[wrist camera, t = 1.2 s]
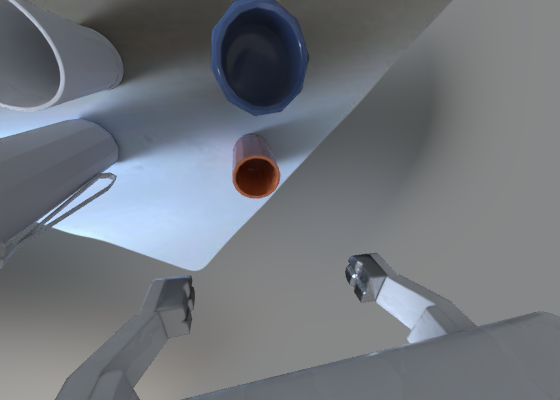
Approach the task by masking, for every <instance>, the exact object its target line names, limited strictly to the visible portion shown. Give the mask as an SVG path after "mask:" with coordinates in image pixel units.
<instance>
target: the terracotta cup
mask: <svg viewBox="0 0 560 400" xmlns="http://www.w3.org/2000/svg"><path fill="white" fill-rule="evenodd" d="M279 181H280V172H279V168H278V166H277V163H276V161H275V159H274V157H273V155H272V152H271V150H270V148H269V146H268V144H267V143H266V141H265V140H264V139H263V138H261V137H260V136H257V135H253V134H249V135H245V136H243V137H241V138H240V139H238V140H237V142H236V143H235V145H234V148H233V184H234V186H235V188H236V190H237V191H238V192H240V193H241V194H242V195H243V196H246V197H249V198H262V197H265V196H268V195H270V194H271V193H272V192H273V191H275V189H276V188H277V186H278V184H279Z"/></svg>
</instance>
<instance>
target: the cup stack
mask: <svg viewBox="0 0 560 400" xmlns="http://www.w3.org/2000/svg"><path fill="white" fill-rule="evenodd" d="M216 61H217V69H218V71H219V74H220V77H221V79H222V82H223V85H224V87H225V88H226V89H227V90H228V92H229V93H230V94H231V95H232V96H233V98H234V99H235V100H236V101H237V102H239V103H240V104H242V105H244V106H246V107H247V108H249V109H251V110H258V111H271V110H274V109H277V108H280V107H282V106H284V105H285V104H286V103H287V102H288V101H289V100H290V99H292V98H293V97H294V96H295V94H296V92H297V91H298V89H299V87H300V85H301V83H302V81H303V79H304V72H305V66H306V53H305V47H304V40H303V37H302V35H301V33H300V31H299V29H298V27H297V26H296V24H295V22H294V20H293V19H292V18H291V17H290V16H289V15H288V14H287V13H285V12H284V11H283V10H282V9H281V8H279V7H278V6H277V5H274V4H270V3H266V2H261V1H254V2H251V3H248V4H245V5H241V6H238V7H237V8H236V9H235V10H234V11H233V12H232V13H231V14H230V16H229V17H228V18H227V19H226V20H225V21H224V22H223V24H222V27H221V30H220V33H219V36H218V39H217V42H216Z"/></svg>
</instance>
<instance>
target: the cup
mask: <svg viewBox="0 0 560 400" xmlns="http://www.w3.org/2000/svg"><path fill="white" fill-rule="evenodd" d="M123 73H124V69H123V63H122V60H121V57H120V55H119V53H118V52H117V50H116V49H115V47H114V46H113V45H112V43H111V42H110V41H109V40H108V39H107V38H105V37H104V36H103V35H102V34H100V33H98V32H97V31H95V30H93V29H90V28H88V27H84V26H81V25H78V24H76V23H73V22H71V21H69V20H67V19H64V18H62V17H60V16H58V15H55V14H53V13H51V12H49V11H46V10H44V9H42V8H40V7H37V6H36V5H34V4H32V3H30V2H28V1H26V0H0V106H2V107H5V108H9V109H13V110H19V111H39V110H44V109H47V108H50V107H53V106H56V105H59V104H62V103H64V102H67V101H71V100H74V99H77V98H80V97H84V96H87V95H90V94H93V93H97V92H100V91H103V90H109V89H113V88H115V87H116V86H118V85H119V84H120V82H121V81H122V78H123Z"/></svg>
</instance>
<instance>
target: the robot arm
mask: <svg viewBox="0 0 560 400" xmlns="http://www.w3.org/2000/svg"><path fill="white" fill-rule="evenodd" d="M348 262H349V263H350V264H349V265H348V266H347V267H346V271H345V273H346V278H347V281H348V283H349V284H350V285H351V286H353V287H354V292H355V294H356V295H357V297H358V299H359V300H360V302H361V303H364V302H370V301H376V302H377V303H378V304H379V305H380V306H382V307H383V308H384V309H386V310H387V311H388V312H390V313H391V314H392V315H393V316H395V317H396V318H397V319H398V320H400V321H401V322H402V323H403V324H405V325H406V326H407V327H409V328H410V329H411V332H410V333H409V335H408V337H407V340H408V341H409V344H405V345H401V346H397V347H393V348H388V349H384V350H380V351H376V352H372V353H368V354H364V355H360V356H357V357H352V358H348V359H344V360H340V361H336V362H332V363H328V364H324V365H320V366H316V367H311V368H307V369H303V370H299V371H296V372H291V373H287V374H283V375H279V376H275V377H271V378H267V379H263V380H259V381H255V382H251V383H247V384H243V385H239V386H235V387H230V388H226V389H222V390H218V391H215V392H210V393H206V394H203V395H198V396H194V397H190V398H186V399H182V400H560V317H559V316H556V315H554V314H551V313H548V312H534V313H530V314H526V315H522V316H518V317H514V318H510V319H506V320H502V321H498V322H494V323H490V324H486V325H482V326H478V327H477V326H476V325H475V324H474V323H473V322H472V321H471V320H470V319H469V318H468V317H467V316H466V315H465V314H464V313H462V311H461V310H459V309H458V308H457V307H456V306H455V305H454V304H453V303H452V302H451V301H449V300H448V299H445V298H444V297H442V296H440V295H438V294H436V293H434V292H432V291H430V290H428V289H426V288H425V287H423V286H421V285H419V284H417V283H415V282H413V281H411V280H409V279H408V278H406V277H404V276H402V275H397V274H396V273H395V271H394V270H393V269H392V268H391V267H390V266H389V265H388V264H387V263H386V262H385V261H384V259H383V258H382V257H381V256H380V255H379V254H377V253H369V254H361V255H354V256H351V257H350V258H349V261H348ZM194 301H195V292H194V288H193V287H192V277H191V276H180V277H169V278H161V279H154V280H153V281H152V282H151V285H150V287H149V290H148V292H147V295H146V297H145V300H144V302H143V305H142V307H141V310H140V312H139V315H134V316H133V317H132V318H131V319H130V320H129V321H128V322H127V323H126V324H124V325H123V326H122V327H121V328H120V329H119V330H118V331H117V332H116V333H115V334H114V335H113V336H112V337H111V338H109V339H108V340H107V341H106V342H105V343H104V344H103V345H102V346H101V347H100V348H99V349H98V350H97V351H96V352H94V353H93V354H92V355H91V356H90V357H89V358H88V359H87V360H86V361H85V362H84V363H83V364H82V365H81V366H79V367H78V368H77V369H76V370H75V371H74V372H73V373H72V374H71V375H70V376H69V377H68V378H67V379H66V381H65V383H64V385H63V386H62V388H61V390H60V392H59V393H58V395H57V397H56V399H55V400H140V399H139V397H138V396H137V394H136V392H135V391H134V389H133V388H134V386H135V385H136V384H137V382H138V381H139V380H140V378H141V377H142V375H143V374H144V373H145V371H146V370H147V368H148V367H149V365H150V364H151V362H152V361H153V360H154V358H155V357H156V356H157V354H158V353H159V352H160V350H161V349H162V347H163V346H164V344H165V343H166V342H167V340H168V338H173V337H177V336H182V335H187V334H190V328H191V322H192V317H191V311H192V310H193V309H194Z"/></svg>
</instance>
